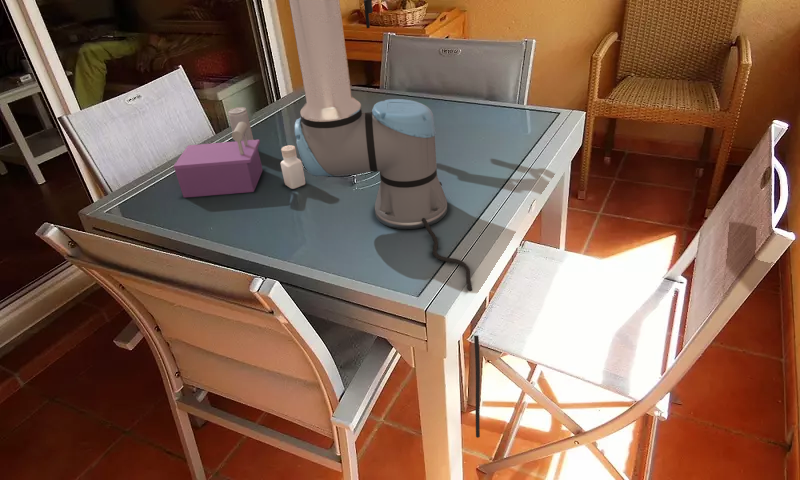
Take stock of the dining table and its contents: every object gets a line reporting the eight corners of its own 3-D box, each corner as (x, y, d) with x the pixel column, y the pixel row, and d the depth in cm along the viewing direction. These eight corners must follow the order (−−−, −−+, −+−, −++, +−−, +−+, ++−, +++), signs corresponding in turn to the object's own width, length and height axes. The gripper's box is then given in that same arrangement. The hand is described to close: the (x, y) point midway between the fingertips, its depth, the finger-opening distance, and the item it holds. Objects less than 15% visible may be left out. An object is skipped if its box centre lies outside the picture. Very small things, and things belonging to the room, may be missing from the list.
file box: (262, 170, 145) (256, 142, 142) (254, 192, 136) (247, 163, 132) (197, 175, 146) (189, 148, 142) (183, 197, 136) (174, 169, 132)
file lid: (260, 142, 141) (254, 116, 138) (250, 162, 132) (244, 135, 128) (189, 148, 142) (181, 122, 138) (174, 169, 132) (165, 141, 128)
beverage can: (259, 151, 156) (250, 108, 149) (244, 157, 153) (234, 114, 146) (249, 147, 159) (239, 105, 152) (234, 153, 156) (223, 111, 149)
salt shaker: (292, 190, 135) (284, 153, 129) (283, 185, 137) (276, 148, 132) (306, 184, 137) (300, 147, 131) (298, 179, 139) (291, 143, 134)
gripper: (382, -70, 140) (390, 22, 151) (280, -60, 140) (296, 30, 152) (382, -67, 133) (390, 28, 145) (275, -57, 134) (291, 36, 145)
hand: (342, 29), depth 148 cm, fingers open, 13 cm apart
